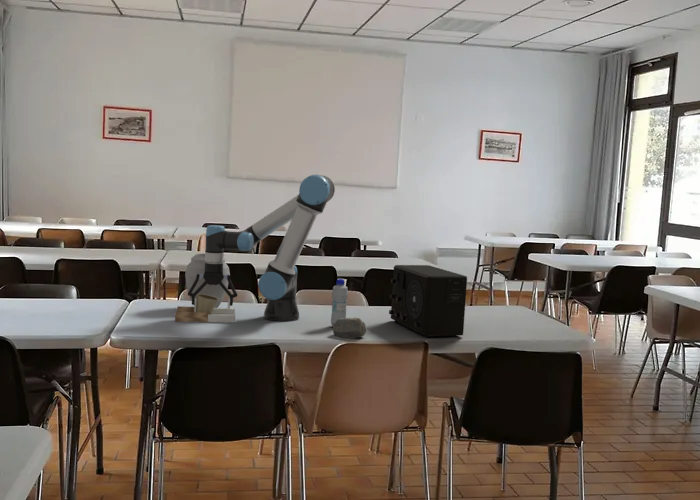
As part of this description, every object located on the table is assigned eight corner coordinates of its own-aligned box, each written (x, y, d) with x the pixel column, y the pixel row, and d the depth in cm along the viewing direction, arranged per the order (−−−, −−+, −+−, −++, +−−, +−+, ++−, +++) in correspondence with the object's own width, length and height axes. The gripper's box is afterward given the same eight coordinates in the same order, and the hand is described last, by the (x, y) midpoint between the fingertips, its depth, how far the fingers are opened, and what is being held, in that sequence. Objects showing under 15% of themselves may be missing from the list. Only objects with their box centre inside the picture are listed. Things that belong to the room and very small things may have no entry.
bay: (234, 315, 302) (234, 308, 302) (235, 322, 287) (235, 315, 287) (208, 314, 300) (208, 307, 300) (207, 322, 285) (208, 314, 285)
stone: (331, 336, 271) (332, 316, 271) (338, 332, 279) (339, 313, 278) (361, 340, 268) (362, 320, 267) (367, 336, 275) (368, 317, 274)
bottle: (334, 328, 285) (337, 280, 283) (327, 325, 291) (329, 277, 289) (349, 328, 288) (351, 280, 287) (341, 324, 294) (344, 277, 292)
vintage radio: (383, 320, 310) (386, 264, 308) (423, 319, 317) (426, 264, 314) (420, 339, 275) (424, 276, 272) (464, 338, 282) (468, 276, 279)
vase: (184, 313, 300) (185, 257, 298) (183, 305, 319) (185, 252, 317) (230, 313, 305) (232, 258, 303) (227, 305, 324) (229, 253, 321)
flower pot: (203, 319, 286) (208, 299, 286) (186, 313, 290) (191, 293, 290) (218, 319, 294) (223, 300, 294) (201, 313, 299) (206, 294, 298)
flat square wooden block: (210, 315, 300) (211, 307, 299) (210, 321, 286) (210, 313, 286) (177, 314, 297) (177, 306, 297) (175, 321, 283) (175, 312, 283)
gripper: (244, 262, 297) (241, 311, 299) (183, 260, 292) (181, 310, 294) (244, 264, 289) (242, 315, 291) (182, 262, 285) (180, 314, 287)
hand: (211, 313), depth 293 cm, fingers open, 13 cm apart
